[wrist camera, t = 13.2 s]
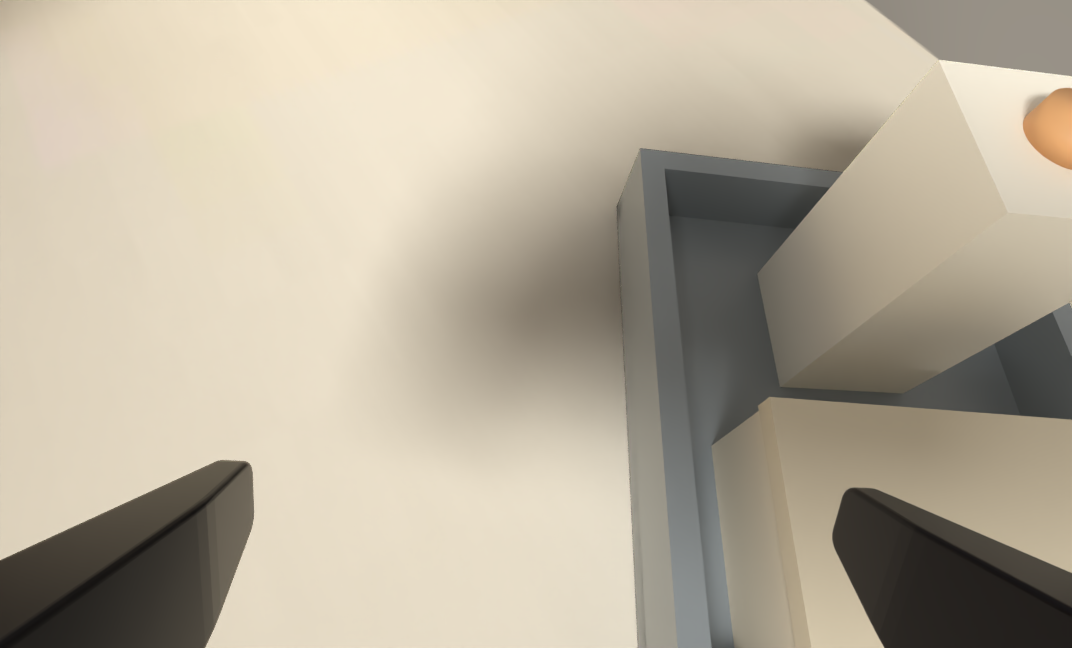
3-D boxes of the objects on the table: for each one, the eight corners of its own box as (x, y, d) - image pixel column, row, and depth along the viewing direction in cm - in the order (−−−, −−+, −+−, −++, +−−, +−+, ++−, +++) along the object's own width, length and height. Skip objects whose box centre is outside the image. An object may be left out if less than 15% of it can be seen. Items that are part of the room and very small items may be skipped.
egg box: (1076, 698, 21) (1244, 712, 16) (736, 691, 20) (820, 705, 15) (996, 462, 25) (1115, 422, 20) (708, 443, 23) (769, 396, 19)
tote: (1145, 761, 21) (1285, 785, 18) (643, 758, 19) (687, 782, 16) (955, 243, 31) (1020, 193, 28) (616, 207, 30) (640, 148, 26)
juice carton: (902, 393, 26) (1236, 211, 15) (780, 386, 25) (1035, 191, 14) (869, 282, 28) (1133, 58, 17) (757, 273, 28) (959, 35, 17)
